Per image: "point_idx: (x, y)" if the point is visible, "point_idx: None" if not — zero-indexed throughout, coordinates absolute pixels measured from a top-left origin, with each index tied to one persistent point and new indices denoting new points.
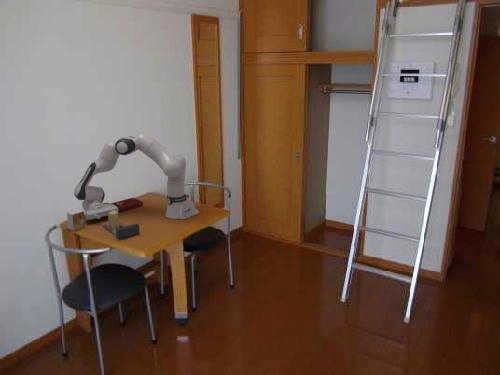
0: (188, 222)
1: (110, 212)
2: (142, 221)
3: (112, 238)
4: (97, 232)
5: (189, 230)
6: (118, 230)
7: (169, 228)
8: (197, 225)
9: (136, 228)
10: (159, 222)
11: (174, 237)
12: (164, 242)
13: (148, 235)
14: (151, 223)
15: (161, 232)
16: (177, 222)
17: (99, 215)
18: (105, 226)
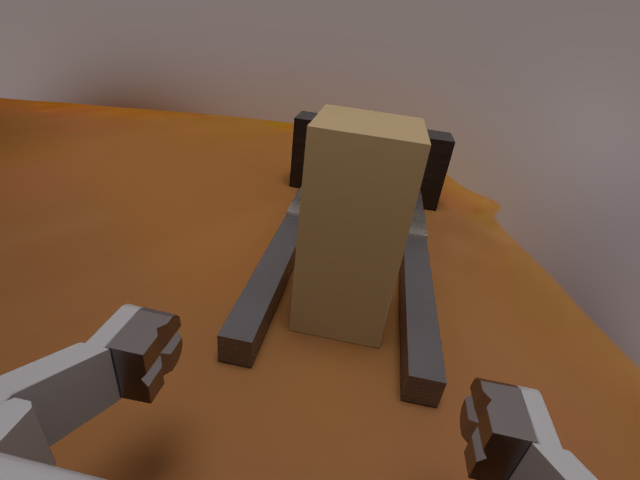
0: (14, 118)
1: (401, 132)
2: (47, 237)
3: (457, 223)
4: (544, 350)
5: (133, 108)
6: (449, 134)
7: (141, 136)
8: (56, 104)
9: None
10: (46, 173)
11: (233, 118)
12: None
13: (279, 155)
14: (84, 190)
15: (211, 141)
16: (24, 135)
17: (504, 415)
18: (435, 332)
